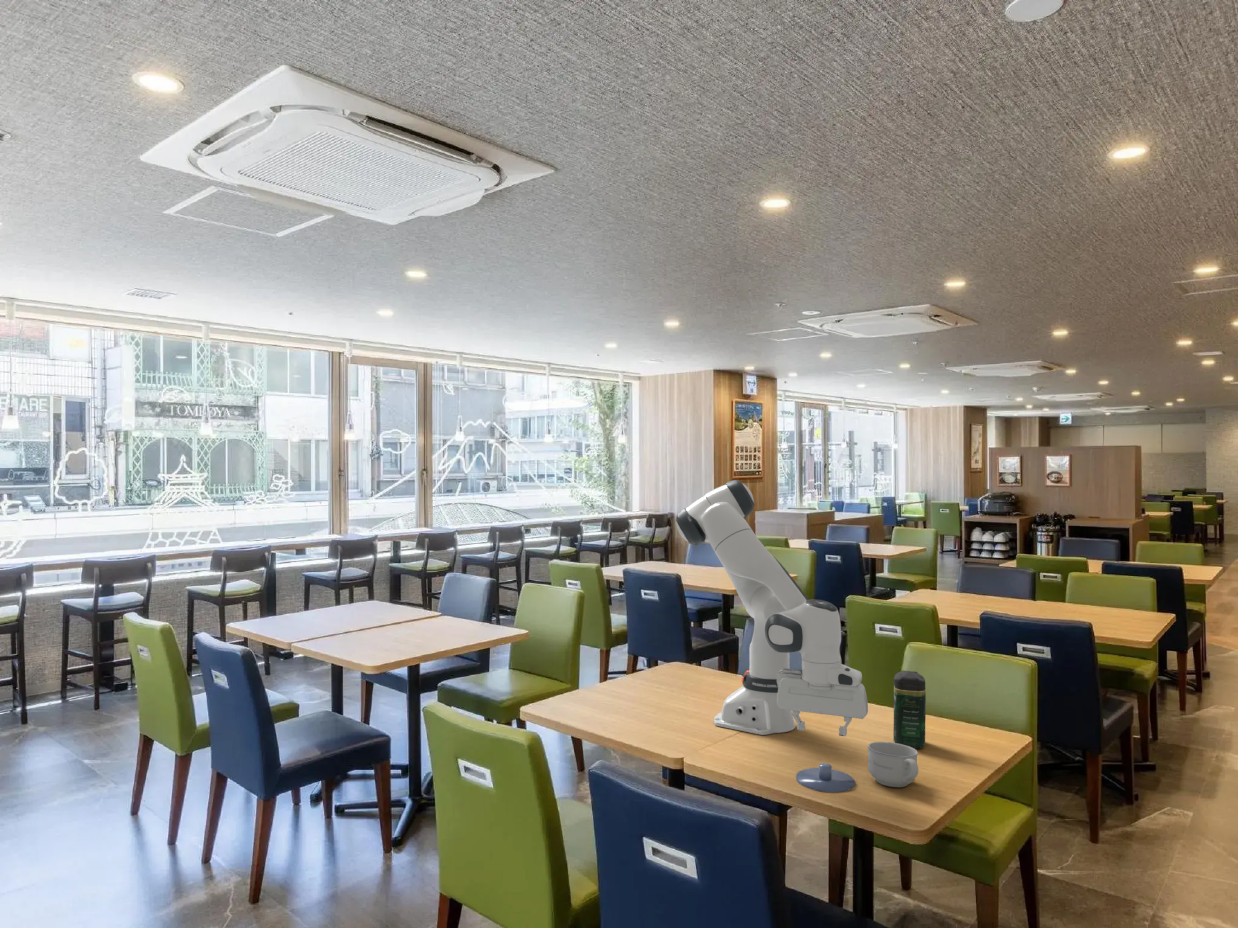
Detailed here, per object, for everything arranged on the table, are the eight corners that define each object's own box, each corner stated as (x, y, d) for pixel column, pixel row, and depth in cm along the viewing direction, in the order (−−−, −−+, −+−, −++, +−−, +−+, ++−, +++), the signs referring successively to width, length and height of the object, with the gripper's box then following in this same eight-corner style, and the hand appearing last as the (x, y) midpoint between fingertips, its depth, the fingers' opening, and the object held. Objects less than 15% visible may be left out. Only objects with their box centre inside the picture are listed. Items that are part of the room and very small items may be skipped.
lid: (790, 787, 179) (791, 770, 179) (802, 768, 191) (802, 751, 191) (850, 797, 174) (850, 779, 174) (858, 777, 186) (858, 759, 186)
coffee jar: (926, 751, 202) (926, 678, 202) (893, 748, 204) (893, 675, 205) (924, 739, 211) (924, 669, 211) (893, 736, 214) (893, 667, 214)
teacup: (860, 774, 186) (860, 740, 186) (905, 773, 187) (905, 739, 187) (885, 798, 172) (885, 761, 173) (933, 796, 173) (933, 759, 174)
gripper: (773, 670, 184) (773, 730, 184) (864, 679, 175) (865, 742, 175) (779, 664, 190) (780, 722, 189) (868, 673, 181) (869, 734, 181)
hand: (821, 732), depth 182 cm, fingers open, 8 cm apart
